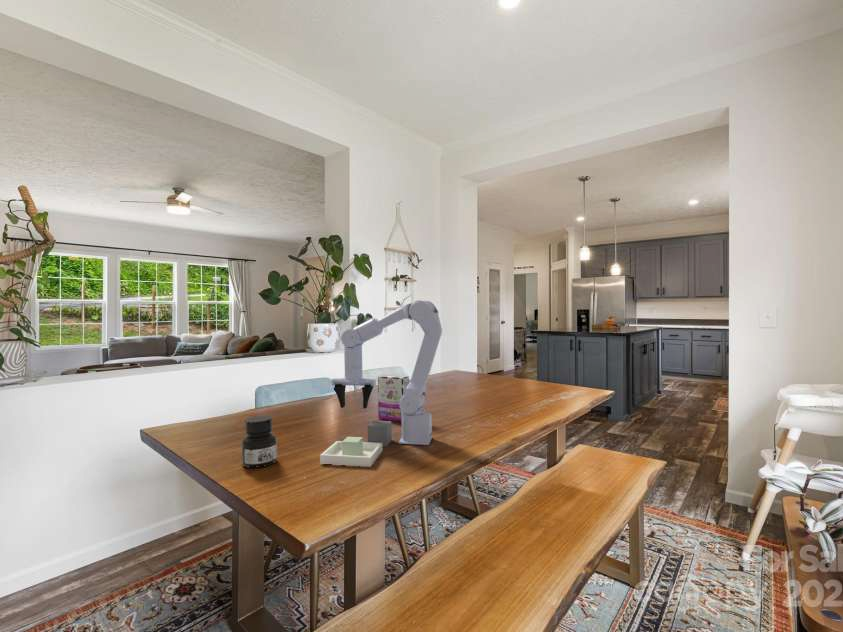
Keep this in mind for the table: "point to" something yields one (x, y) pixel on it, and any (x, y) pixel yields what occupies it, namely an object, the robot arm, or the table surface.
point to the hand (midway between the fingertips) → (354, 407)
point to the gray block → (380, 432)
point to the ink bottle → (259, 442)
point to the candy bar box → (391, 396)
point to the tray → (365, 460)
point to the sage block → (352, 446)
